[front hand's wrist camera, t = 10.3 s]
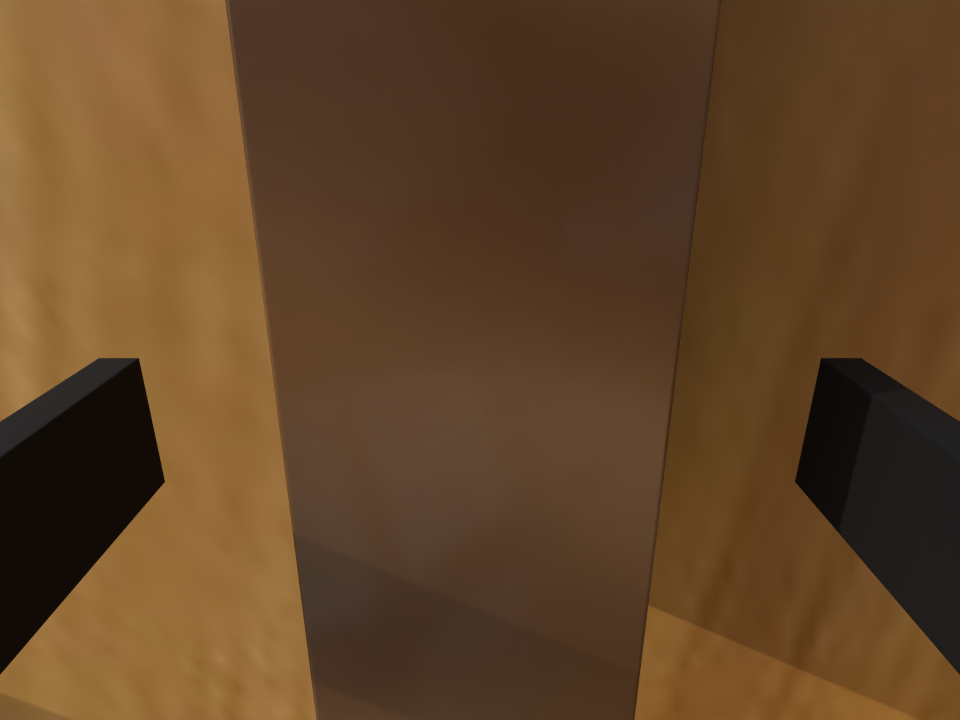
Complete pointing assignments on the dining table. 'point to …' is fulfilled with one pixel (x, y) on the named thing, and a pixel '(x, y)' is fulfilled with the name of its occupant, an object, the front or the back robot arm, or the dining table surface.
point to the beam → (474, 333)
